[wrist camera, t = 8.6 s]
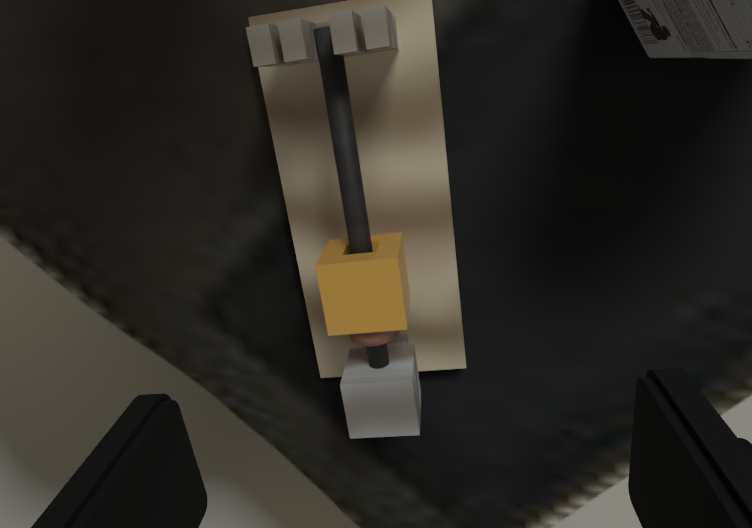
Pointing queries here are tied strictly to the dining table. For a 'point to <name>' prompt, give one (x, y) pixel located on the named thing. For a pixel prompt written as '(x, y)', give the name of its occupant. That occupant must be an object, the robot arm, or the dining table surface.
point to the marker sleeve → (364, 286)
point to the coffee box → (692, 27)
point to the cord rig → (366, 185)
